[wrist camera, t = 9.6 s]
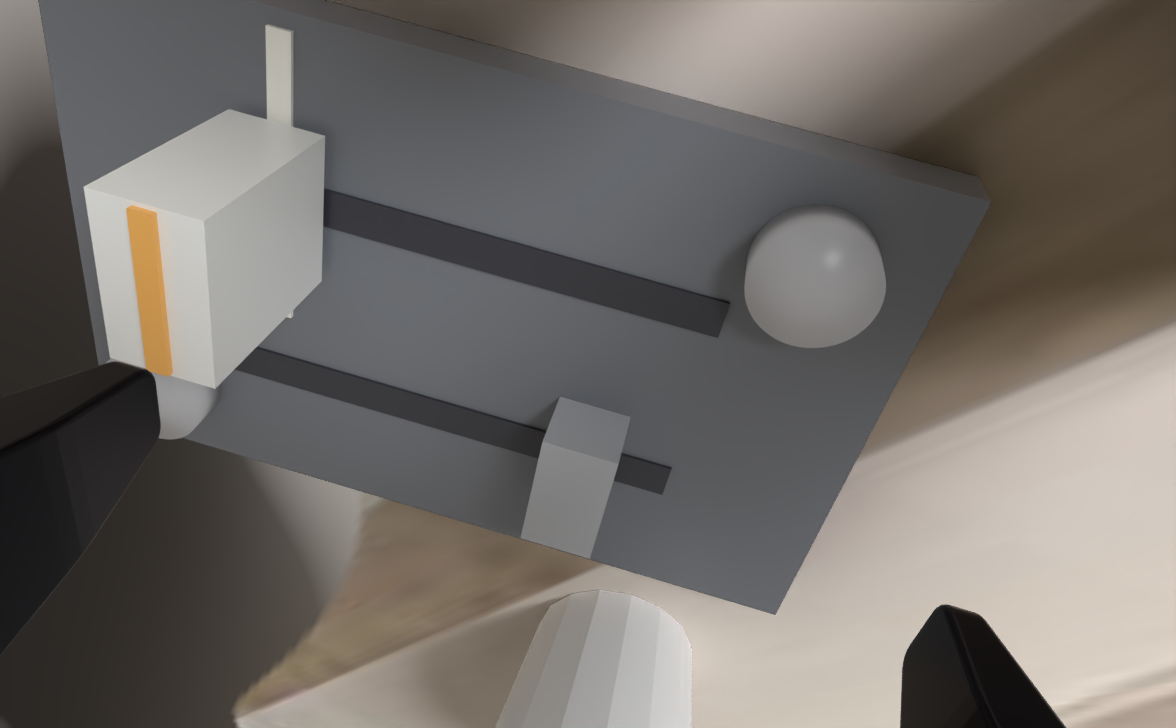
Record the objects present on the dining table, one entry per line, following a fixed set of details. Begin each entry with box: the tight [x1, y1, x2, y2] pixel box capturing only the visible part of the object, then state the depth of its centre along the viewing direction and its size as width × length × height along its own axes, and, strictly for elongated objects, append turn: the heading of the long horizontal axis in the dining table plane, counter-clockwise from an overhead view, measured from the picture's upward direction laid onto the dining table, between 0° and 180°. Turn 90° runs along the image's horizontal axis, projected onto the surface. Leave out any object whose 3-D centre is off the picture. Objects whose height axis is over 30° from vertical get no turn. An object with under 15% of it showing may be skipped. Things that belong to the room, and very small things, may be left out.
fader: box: [84, 109, 325, 389], centre depth 19 cm, size 2×4×5 cm, turn 168°
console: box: [38, 0, 991, 615], centre depth 22 cm, size 22×14×4 cm, turn 78°
